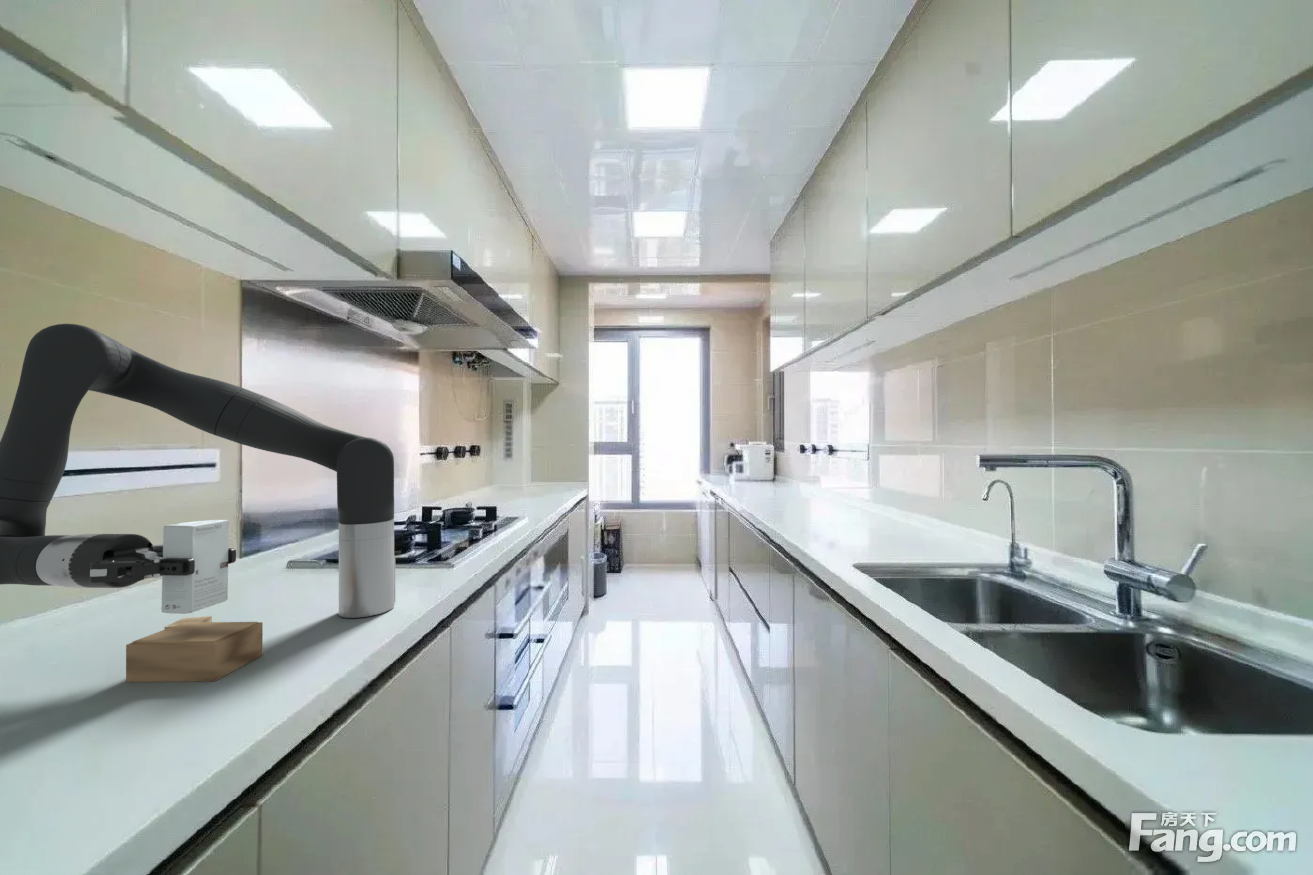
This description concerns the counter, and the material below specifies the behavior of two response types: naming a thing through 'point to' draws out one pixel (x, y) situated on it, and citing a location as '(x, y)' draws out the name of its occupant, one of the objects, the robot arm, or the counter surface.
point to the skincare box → (196, 565)
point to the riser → (193, 652)
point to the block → (191, 620)
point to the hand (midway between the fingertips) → (213, 561)
